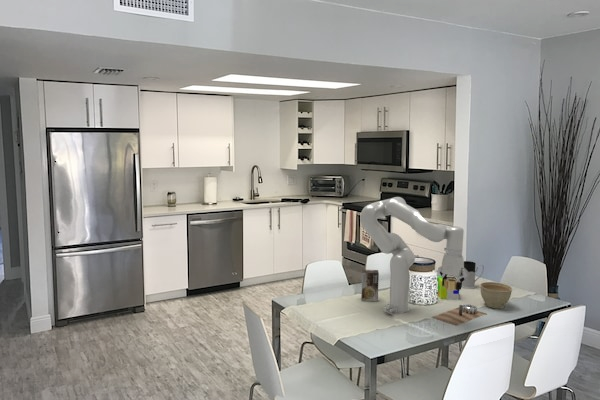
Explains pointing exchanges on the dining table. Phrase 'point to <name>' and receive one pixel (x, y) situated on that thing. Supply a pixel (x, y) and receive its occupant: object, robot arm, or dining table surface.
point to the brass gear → (450, 284)
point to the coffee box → (370, 285)
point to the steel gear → (469, 309)
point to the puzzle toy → (446, 291)
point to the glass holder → (470, 275)
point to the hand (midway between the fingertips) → (451, 287)
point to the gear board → (457, 316)
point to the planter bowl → (495, 294)
